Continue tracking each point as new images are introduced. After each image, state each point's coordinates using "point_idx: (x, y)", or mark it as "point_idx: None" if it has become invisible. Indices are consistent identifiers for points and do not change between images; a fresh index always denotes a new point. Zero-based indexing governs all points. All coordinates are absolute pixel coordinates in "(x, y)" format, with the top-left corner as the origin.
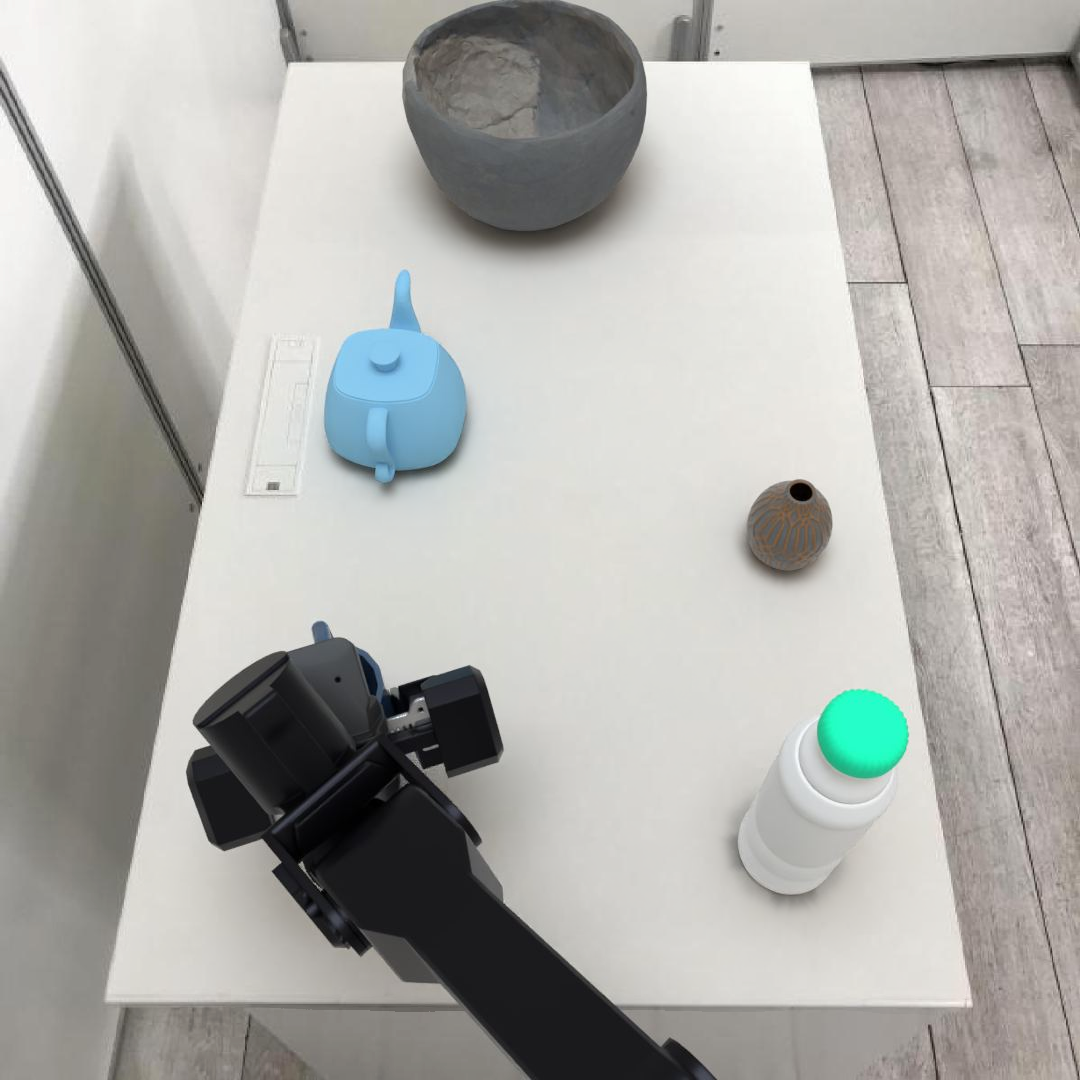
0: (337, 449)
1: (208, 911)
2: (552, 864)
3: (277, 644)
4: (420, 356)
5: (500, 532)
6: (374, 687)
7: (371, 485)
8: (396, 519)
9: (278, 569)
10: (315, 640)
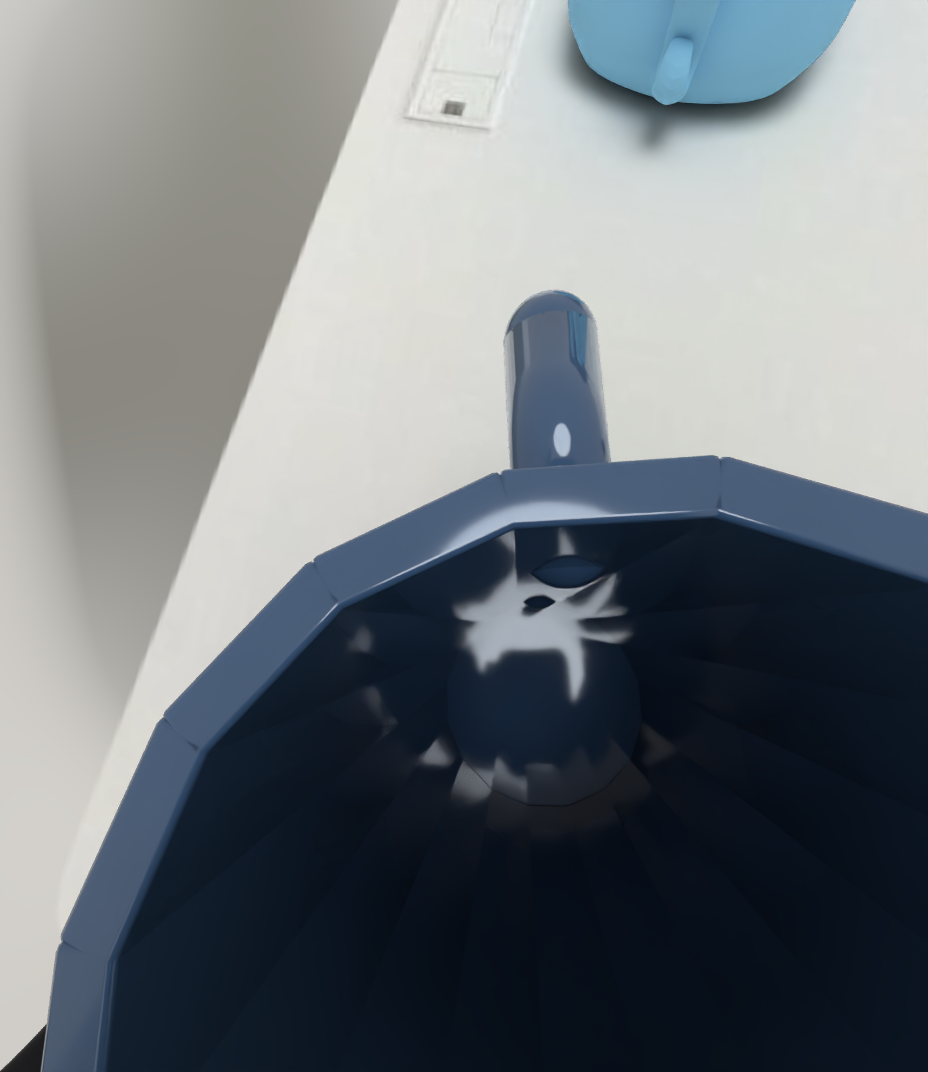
0: (588, 16)
1: None
2: None
3: (409, 388)
4: None
5: (864, 255)
6: (708, 657)
7: (623, 129)
8: (659, 198)
9: (435, 254)
10: (521, 397)
